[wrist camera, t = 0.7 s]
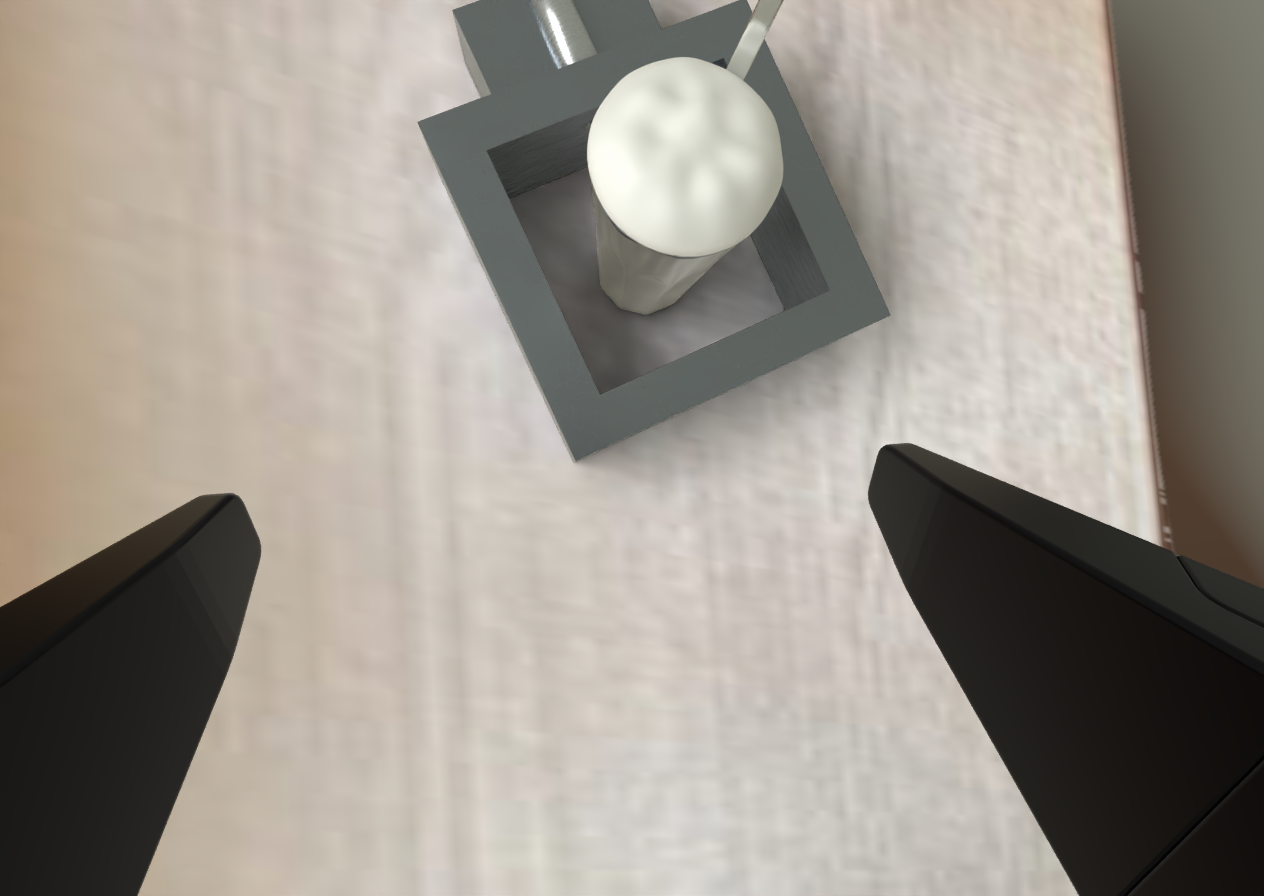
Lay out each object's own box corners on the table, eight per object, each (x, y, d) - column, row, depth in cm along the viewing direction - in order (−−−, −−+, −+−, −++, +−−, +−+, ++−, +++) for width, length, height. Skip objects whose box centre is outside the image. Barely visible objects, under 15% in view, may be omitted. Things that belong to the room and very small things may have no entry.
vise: (840, 338, 23) (890, 315, 19) (573, 462, 21) (575, 461, 18) (650, -77, 22) (666, -177, 19) (368, 24, 21) (330, -64, 18)
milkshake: (735, 233, 22) (873, 45, 12) (664, 356, 22) (748, 261, 12) (630, 167, 22) (685, -82, 12) (555, 290, 22) (548, 137, 12)
